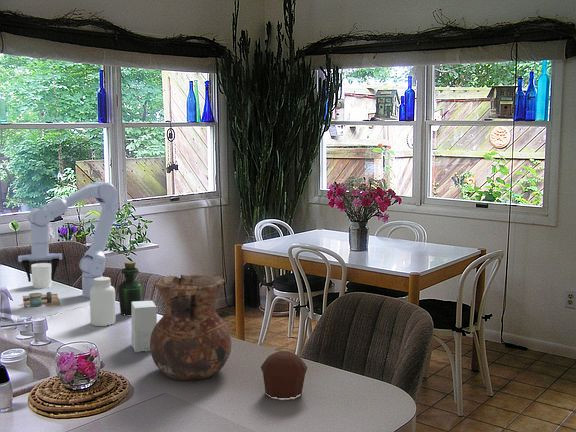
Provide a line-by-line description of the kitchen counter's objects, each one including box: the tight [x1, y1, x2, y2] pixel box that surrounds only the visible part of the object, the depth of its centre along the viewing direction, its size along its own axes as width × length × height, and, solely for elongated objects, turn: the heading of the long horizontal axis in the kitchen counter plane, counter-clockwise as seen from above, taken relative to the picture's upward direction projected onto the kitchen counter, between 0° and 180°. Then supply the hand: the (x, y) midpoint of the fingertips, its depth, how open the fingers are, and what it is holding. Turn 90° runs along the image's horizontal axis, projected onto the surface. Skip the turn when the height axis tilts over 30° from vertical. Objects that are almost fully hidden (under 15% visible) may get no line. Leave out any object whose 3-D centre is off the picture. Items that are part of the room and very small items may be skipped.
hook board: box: [22, 291, 62, 309], centre depth 242 cm, size 19×12×5 cm, turn 23°
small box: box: [130, 300, 158, 353], centre depth 195 cm, size 8×6×13 cm
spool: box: [28, 292, 43, 308], centre depth 236 cm, size 4×4×6 cm
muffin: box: [260, 350, 308, 398], centre depth 163 cm, size 12×11×10 cm
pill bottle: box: [89, 276, 117, 327], centre depth 219 cm, size 8×8×15 cm
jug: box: [149, 274, 233, 381], centre depth 175 cm, size 22×21×25 cm
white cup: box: [30, 262, 53, 289], centre depth 265 cm, size 8×8×10 cm
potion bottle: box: [117, 260, 143, 315], centre depth 232 cm, size 8×8×18 cm
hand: (41, 280), depth 239 cm, fingers open, 7 cm apart
